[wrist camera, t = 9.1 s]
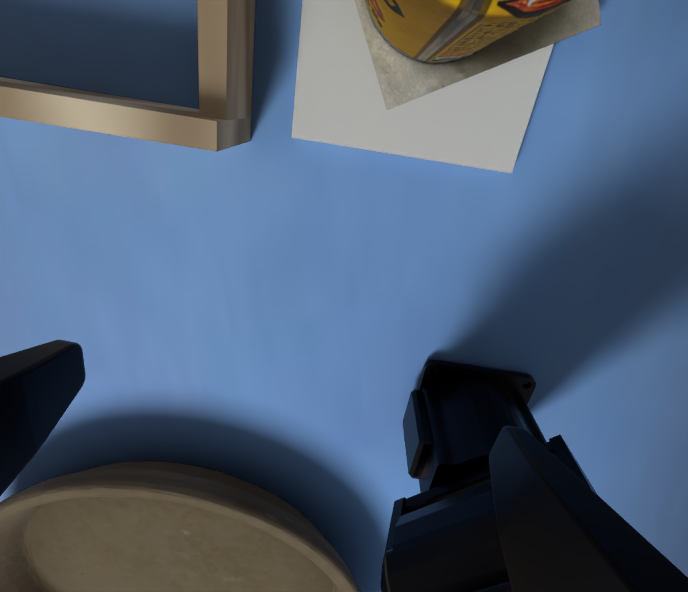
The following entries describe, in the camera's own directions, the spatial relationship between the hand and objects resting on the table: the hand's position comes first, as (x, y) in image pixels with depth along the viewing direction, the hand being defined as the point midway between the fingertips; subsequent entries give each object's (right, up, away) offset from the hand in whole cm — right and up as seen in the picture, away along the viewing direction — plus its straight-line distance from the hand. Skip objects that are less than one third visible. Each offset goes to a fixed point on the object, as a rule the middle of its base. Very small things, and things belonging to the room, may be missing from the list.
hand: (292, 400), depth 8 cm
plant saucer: (-12, -21, +26) cm, 36 cm away
